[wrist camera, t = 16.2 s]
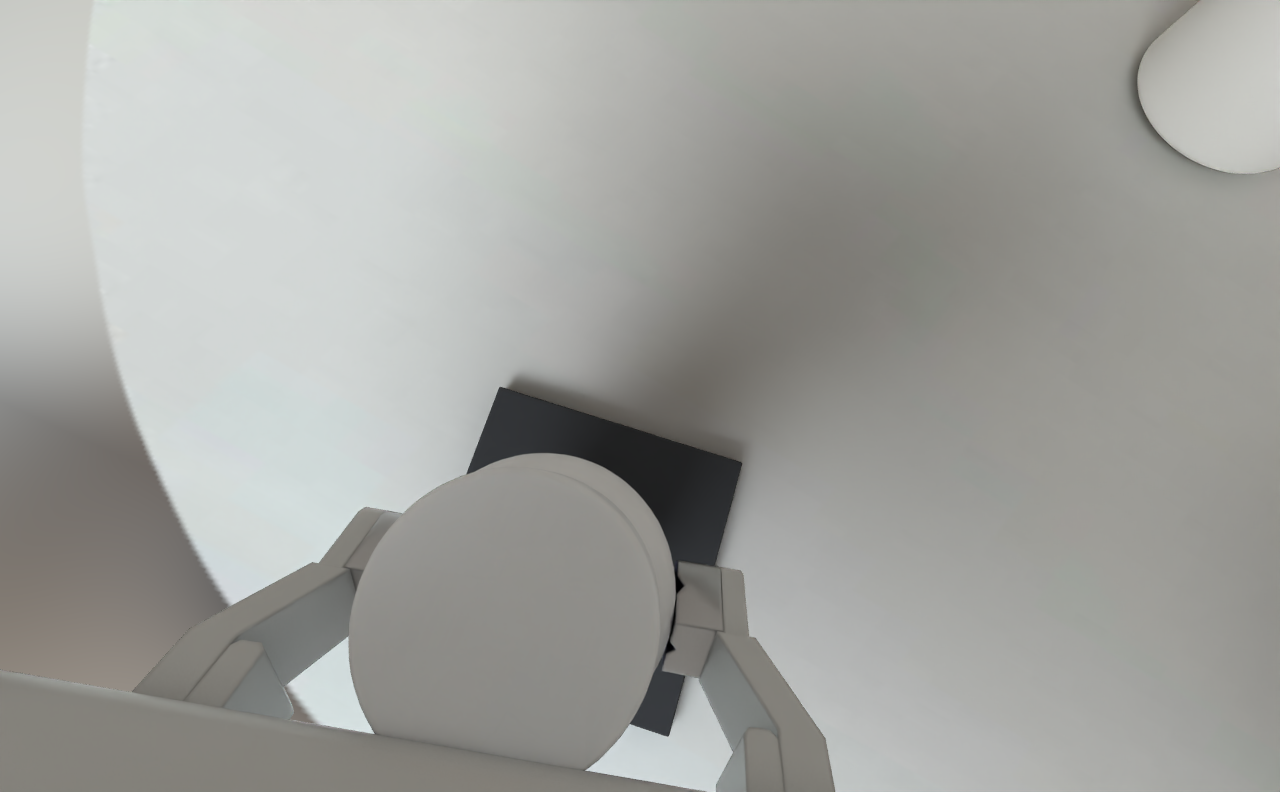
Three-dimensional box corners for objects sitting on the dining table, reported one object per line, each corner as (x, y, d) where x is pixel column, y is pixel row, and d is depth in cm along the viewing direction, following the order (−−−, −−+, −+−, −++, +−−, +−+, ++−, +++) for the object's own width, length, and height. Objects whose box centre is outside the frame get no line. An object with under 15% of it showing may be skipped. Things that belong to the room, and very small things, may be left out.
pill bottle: (611, 442, 18) (594, 372, 8) (688, 594, 17) (772, 715, 7) (460, 519, 17) (250, 541, 8) (531, 682, 16) (394, 942, 7)
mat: (667, 730, 18) (669, 737, 18) (407, 642, 19) (400, 647, 18) (739, 463, 20) (742, 462, 20) (502, 389, 21) (499, 386, 20)
